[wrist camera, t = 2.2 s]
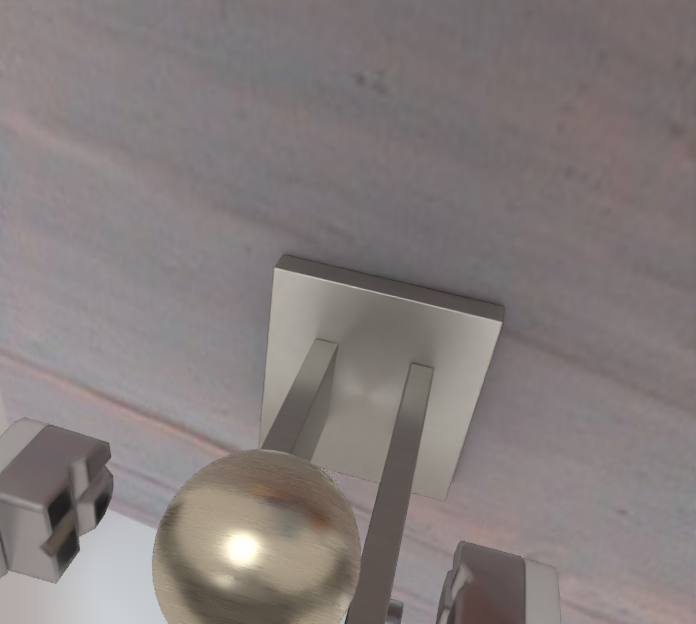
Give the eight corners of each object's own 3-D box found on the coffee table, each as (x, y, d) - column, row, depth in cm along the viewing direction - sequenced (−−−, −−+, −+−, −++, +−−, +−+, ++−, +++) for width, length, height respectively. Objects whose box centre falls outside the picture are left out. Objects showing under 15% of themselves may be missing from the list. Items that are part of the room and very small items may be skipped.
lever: (179, 399, 10) (82, 631, 8) (388, 456, 9) (325, 709, 8) (269, 535, 21) (236, 641, 20) (363, 562, 21) (337, 672, 19)
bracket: (283, 254, 26) (115, 486, 15) (504, 306, 25) (491, 595, 14) (266, 433, 31) (134, 698, 21) (447, 483, 30) (407, 788, 20)
